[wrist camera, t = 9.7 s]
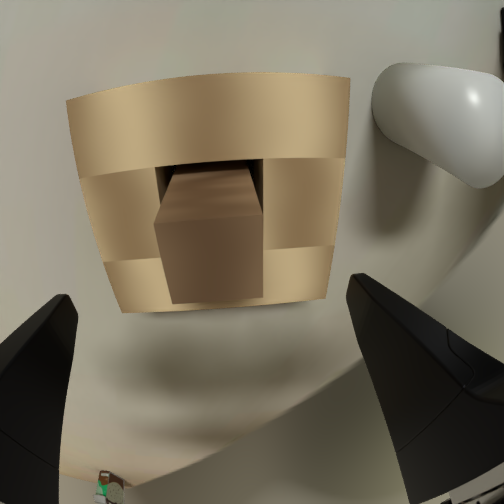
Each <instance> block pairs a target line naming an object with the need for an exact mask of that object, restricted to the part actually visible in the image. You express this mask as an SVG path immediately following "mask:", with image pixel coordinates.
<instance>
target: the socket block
mask: <svg viewBox="0 0 504 504" xmlns="http://www.w3.org/2000/svg"><path fill="white" fill-rule="evenodd" d="M349 97H350V78H346V77H337V76H327V75H316V74H301V73H272V72H251V73H223V74H208V75H196V76H186V77H177V78H169V79H162V80H155V81H149V82H143V83H137V84H132V85H127V86H122V87H117V88H113V89H108V90H104V91H100V92H96V93H92V94H88V95H84V96H80V97H77V98H73V99H70V100H67V101H66V105H67V113H68V120H69V127H70V133H71V139H72V145H73V150H74V155H75V161H76V165H77V170H78V175H79V179H80V184H81V188H82V192H83V196H84V200H85V204H86V208H87V211H88V215H89V219H90V222H91V226H92V229H93V232H94V236H95V239H96V242H97V245H98V249H99V252H100V255H101V258H102V261H103V264H104V267H105V269H106V272H107V275H108V278H109V281H110V283H111V286H112V289H113V291H114V294H115V297H116V299H117V302H118V304H119V307H120V309H121V312H122V313H140V312H166V311H186V310H203V309H218V308H232V307H245V306H257V305H268V304H278V303H289V302H298V301H307V300H316V299H325V298H326V292H327V287H328V281H329V276H330V270H331V264H332V258H333V252H334V245H335V239H336V232H337V225H338V218H339V210H340V202H341V194H342V185H343V176H344V166H345V155H346V144H347V131H348V116H349ZM243 159H253V166H254V188H255V191H256V194H257V197H258V201H259V204H260V207H261V210H262V214H263V298H253V299H241V300H229V301H216V302H202V303H187V304H172V301H171V297H170V293H169V289H168V285H167V281H166V277H165V273H164V269H163V265H162V261H161V257H160V252H159V248H158V243H157V239H156V234H155V229H154V221H155V218H156V216H157V213H158V211H159V208H160V205H161V203H162V200H163V198H164V195H165V193H166V191H167V188H168V186H169V183H170V181H171V179H172V168H171V165H178V164H188V163H199V162H212V161H226V160H243Z"/></svg>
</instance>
